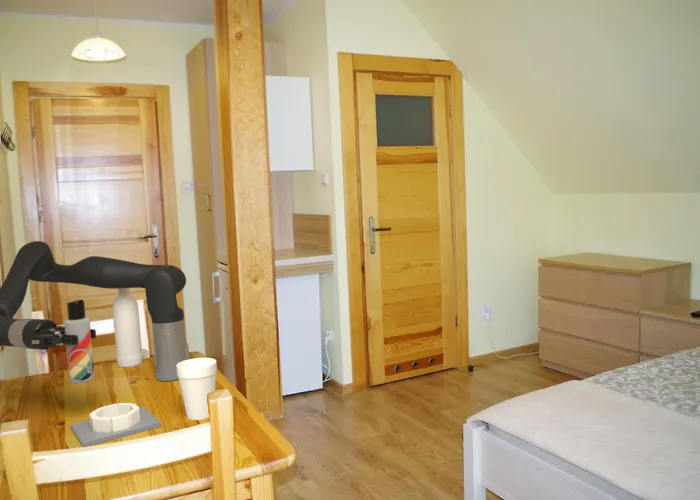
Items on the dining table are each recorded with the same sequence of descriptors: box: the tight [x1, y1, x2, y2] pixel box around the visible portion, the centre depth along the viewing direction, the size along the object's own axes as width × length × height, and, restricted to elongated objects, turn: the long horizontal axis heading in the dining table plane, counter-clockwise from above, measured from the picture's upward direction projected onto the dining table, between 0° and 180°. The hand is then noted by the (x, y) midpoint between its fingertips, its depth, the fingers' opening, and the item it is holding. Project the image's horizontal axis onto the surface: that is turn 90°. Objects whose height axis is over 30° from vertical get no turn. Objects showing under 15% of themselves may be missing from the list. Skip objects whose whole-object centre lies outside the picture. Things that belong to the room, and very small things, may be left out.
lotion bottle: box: [64, 299, 95, 384], centre depth 147 cm, size 6×6×20 cm
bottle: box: [111, 288, 144, 368], centre depth 194 cm, size 8×8×30 cm
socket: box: [70, 402, 162, 448], centre depth 141 cm, size 17×14×4 cm
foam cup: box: [176, 357, 218, 421], centre depth 146 cm, size 10×9×13 cm
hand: (85, 336), depth 146 cm, fingers closed on lotion bottle, 5 cm apart
